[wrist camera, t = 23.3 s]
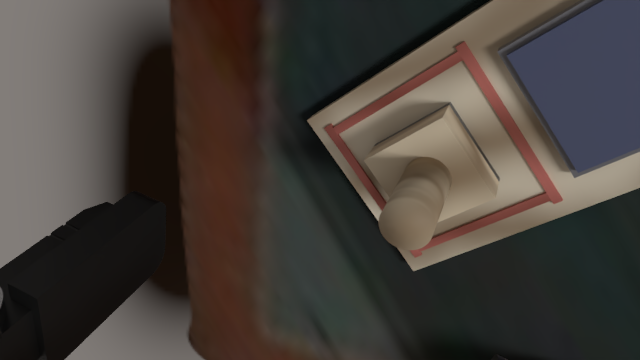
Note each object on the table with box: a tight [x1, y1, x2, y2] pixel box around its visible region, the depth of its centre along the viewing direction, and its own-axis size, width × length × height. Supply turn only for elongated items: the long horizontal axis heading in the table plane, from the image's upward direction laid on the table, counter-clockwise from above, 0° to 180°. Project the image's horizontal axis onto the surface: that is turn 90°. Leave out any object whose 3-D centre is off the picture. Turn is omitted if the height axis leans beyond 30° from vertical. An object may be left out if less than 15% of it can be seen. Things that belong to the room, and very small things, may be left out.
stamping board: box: [307, 0, 640, 271], centre depth 33 cm, size 14×24×1 cm, turn 128°
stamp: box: [364, 102, 500, 250], centre depth 32 cm, size 6×6×8 cm
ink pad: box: [497, 0, 640, 178], centre depth 29 cm, size 9×9×1 cm
